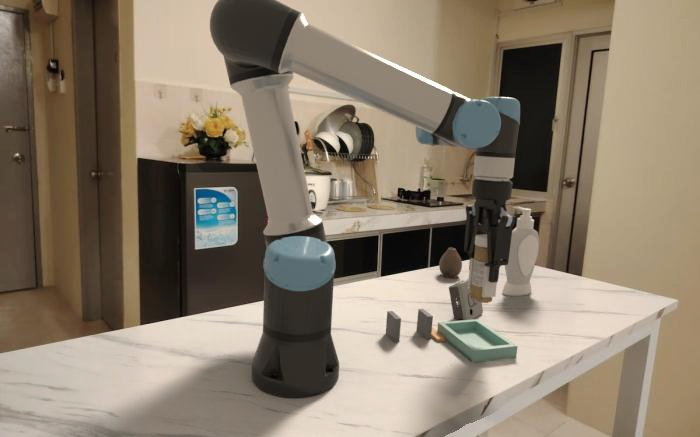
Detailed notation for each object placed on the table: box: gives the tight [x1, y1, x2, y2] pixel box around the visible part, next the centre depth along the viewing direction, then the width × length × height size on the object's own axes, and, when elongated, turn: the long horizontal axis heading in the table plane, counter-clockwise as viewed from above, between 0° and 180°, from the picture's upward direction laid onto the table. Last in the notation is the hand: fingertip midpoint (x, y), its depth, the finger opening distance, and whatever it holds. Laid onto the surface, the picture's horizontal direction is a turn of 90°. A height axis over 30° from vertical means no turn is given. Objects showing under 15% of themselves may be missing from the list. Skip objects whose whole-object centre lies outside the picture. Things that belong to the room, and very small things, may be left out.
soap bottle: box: [501, 206, 540, 297], centre depth 135 cm, size 13×8×24 cm, turn 117°
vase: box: [438, 247, 463, 278], centre depth 148 cm, size 7×7×9 cm
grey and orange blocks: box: [385, 308, 447, 343], centre depth 102 cm, size 11×8×5 cm
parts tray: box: [436, 318, 518, 364], centre depth 99 cm, size 10×14×2 cm
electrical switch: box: [448, 278, 484, 320], centre depth 115 cm, size 9×5×9 cm, turn 141°
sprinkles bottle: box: [470, 234, 493, 304], centre depth 97 cm, size 5×5×14 cm
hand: (481, 292), depth 97 cm, fingers closed on sprinkles bottle, 4 cm apart
